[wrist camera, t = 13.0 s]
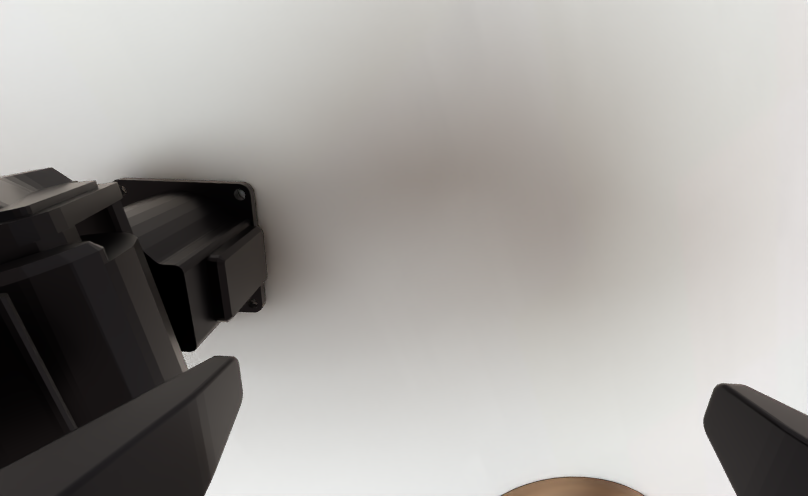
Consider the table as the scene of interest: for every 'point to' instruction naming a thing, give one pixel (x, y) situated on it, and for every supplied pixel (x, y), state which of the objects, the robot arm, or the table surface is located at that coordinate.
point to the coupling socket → (573, 488)
